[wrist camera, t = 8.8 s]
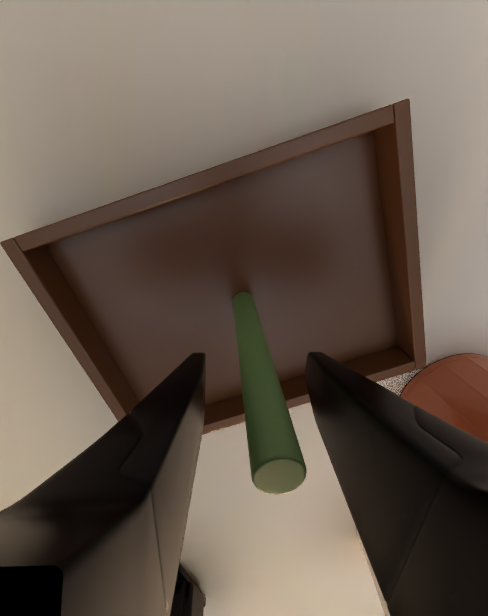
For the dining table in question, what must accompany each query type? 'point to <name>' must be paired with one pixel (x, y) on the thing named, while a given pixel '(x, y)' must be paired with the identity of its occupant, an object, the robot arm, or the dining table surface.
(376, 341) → the tray
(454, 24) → the dining table surface
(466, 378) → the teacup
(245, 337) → the straw
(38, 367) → the dining table surface
